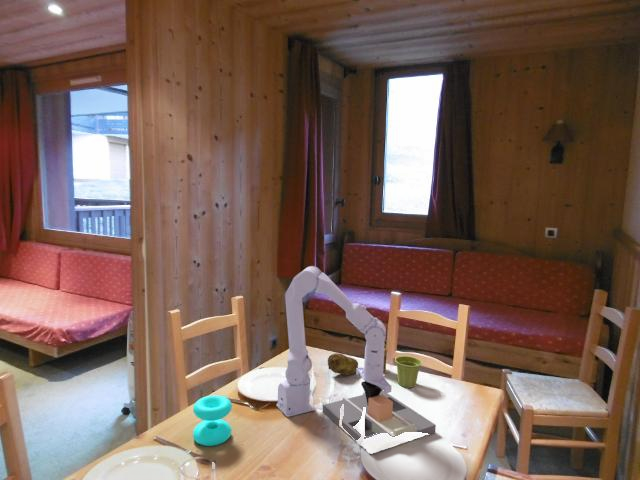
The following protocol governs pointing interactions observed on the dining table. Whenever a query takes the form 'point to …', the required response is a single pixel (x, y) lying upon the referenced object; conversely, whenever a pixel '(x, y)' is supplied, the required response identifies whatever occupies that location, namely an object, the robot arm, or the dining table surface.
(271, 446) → the dining table surface
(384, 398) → the terracotta block
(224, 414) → the donuts
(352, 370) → the potato
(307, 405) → the robot arm
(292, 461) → the dining table surface
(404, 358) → the plant pot
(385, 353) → the condiment
